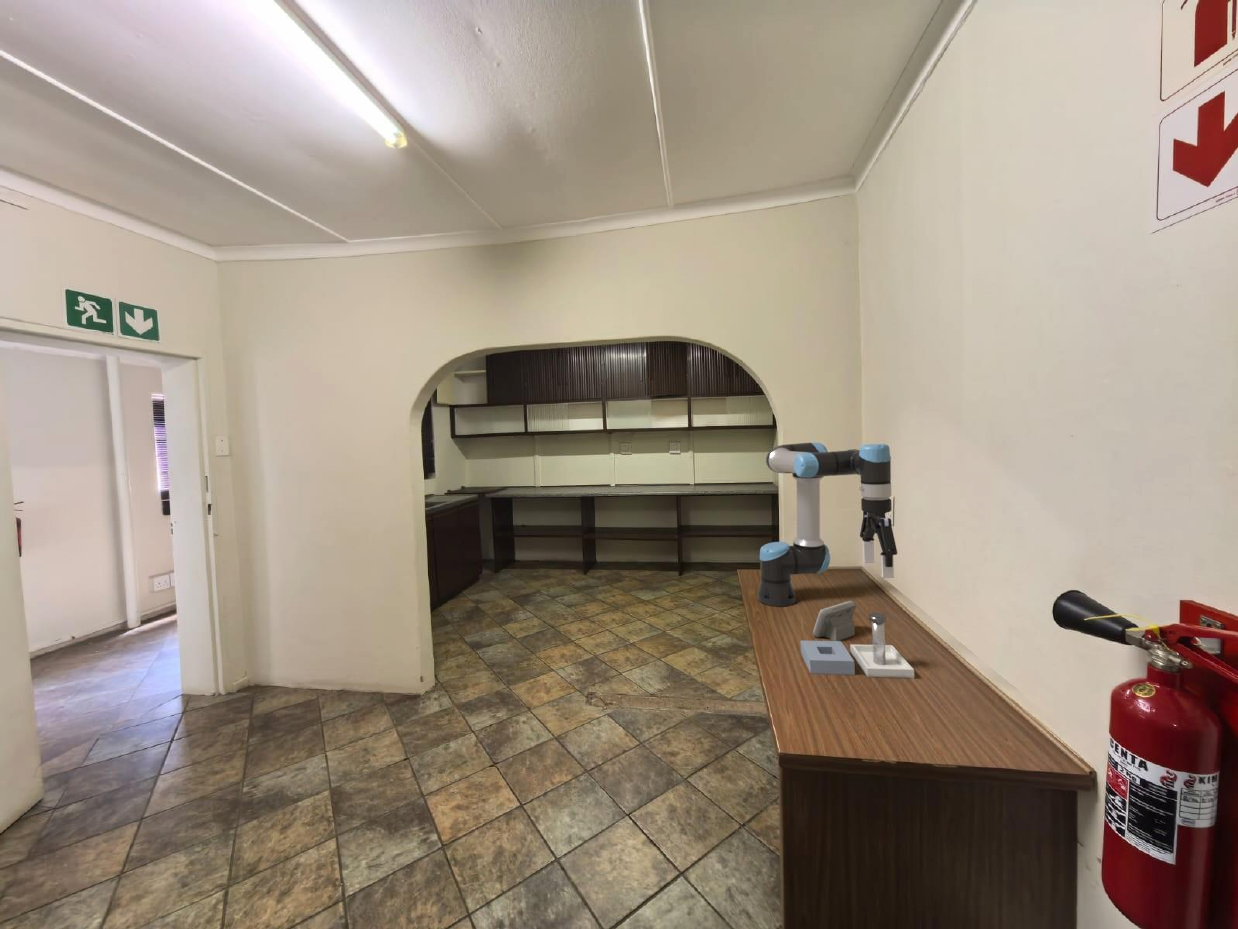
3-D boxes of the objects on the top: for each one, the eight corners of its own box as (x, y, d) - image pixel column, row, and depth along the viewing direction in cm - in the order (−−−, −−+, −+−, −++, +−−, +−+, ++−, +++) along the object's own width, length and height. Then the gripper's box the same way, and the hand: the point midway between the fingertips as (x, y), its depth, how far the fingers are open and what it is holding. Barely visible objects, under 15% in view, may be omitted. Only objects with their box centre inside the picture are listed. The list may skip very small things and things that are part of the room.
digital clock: (846, 625, 156) (845, 596, 155) (866, 636, 147) (865, 605, 146) (806, 632, 153) (805, 603, 152) (823, 644, 144) (822, 613, 143)
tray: (850, 652, 138) (850, 644, 138) (892, 653, 136) (892, 645, 135) (867, 677, 124) (867, 668, 124) (914, 678, 122) (914, 669, 122)
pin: (881, 657, 132) (879, 612, 131) (891, 665, 128) (889, 618, 127) (867, 659, 132) (865, 613, 131) (877, 667, 128) (875, 619, 127)
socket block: (800, 652, 140) (800, 640, 139) (841, 653, 137) (840, 641, 137) (810, 673, 128) (809, 660, 127) (854, 674, 126) (854, 661, 125)
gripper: (847, 492, 139) (849, 557, 141) (879, 505, 115) (881, 584, 116) (873, 491, 138) (874, 557, 139) (910, 504, 113) (912, 584, 115)
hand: (877, 569), depth 128 cm, fingers open, 13 cm apart
